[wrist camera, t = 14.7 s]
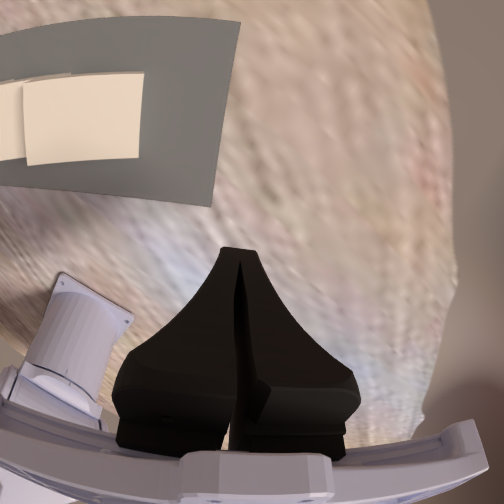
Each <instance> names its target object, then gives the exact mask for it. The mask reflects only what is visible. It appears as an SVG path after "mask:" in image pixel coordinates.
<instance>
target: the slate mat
mask: <svg viewBox="0 0 504 504" xmlns="http://www.w3.org/2000/svg"><path fill="white" fill-rule="evenodd" d="M240 24H241V22H235V21H227V20H218V19H208V18H195V17H176V16H128V17H109V18H97V19H87V20H78V21H70V22H63V23H57V24H51V25H45V26H40V27H35V28H30V29H25V30H21V31H17V32H13V33H9V34H5V35H1V36H0V82H1V81H6V80H11V79H14V80H19V79H25V78H31V77H38V76H45V75H52V74H61V73H70V72H71V75H73V74H85V73H100V72H127V71H144V80H143V91H142V103H141V117H140V133H139V157H138V158H121V159H101V160H85V161H72V162H60V163H50V164H40V165H31V166H27V157H24V158H17V159H10V160H3V161H0V185H1V186H16V187H29V188H41V189H53V190H64V191H74V192H85V193H95V194H104V195H114V196H123V197H132V198H140V199H149V200H157V201H165V202H173V203H181V204H189V205H197V206H204V207H211V203H212V196H213V188H214V181H215V174H216V166H217V159H218V153H219V146H220V139H221V133H222V126H223V120H224V114H225V107H226V101H227V95H228V89H229V84H230V78H231V72H232V67H233V61H234V56H235V50H236V45H237V40H238V34H239V29H240Z"/></svg>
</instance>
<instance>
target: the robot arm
mask: <svg viewBox="0 0 504 504" xmlns="http://www.w3.org/2000/svg"><path fill="white" fill-rule="evenodd" d="M133 321H134V315H133V314H132V313H130V312H128V311H126V310H124V309H123V308H121V307H119V306H117V305H116V304H114V303H112V302H110V301H109V300H107V299H105V298H104V297H102V296H100V295H99V294H97V293H95V292H94V291H92V290H90V289H89V288H87V287H85V286H84V285H82V284H81V283H79V282H77V281H76V280H74V279H73V278H71V277H70V276H68V275H66V274H64V273H61V274H60V276H59V277H58V280H57V282H56V285H55V287H54V290H53V293H52V295H51V298H50V301H49V303H48V306H47V309H46V312H45V315H44V317H43V320H42V323H41V325H40V327H39V329H38V331H37V333H36V335H35V337H34V339H33V341H32V343H31V345H30V347H29V349H28V351H27V353H26V356H25V358H24V360H23V363H22V365H21V366H20V367H19V369H18V368H16V367H15V366H14V365H11V366H10V367H9V366H8V367H5V368H3V370H2V372H1V374H0V504H67V503H72V502H76V501H81V502H84V503H88V504H410V503H413V502H416V501H419V500H422V499H425V498H428V497H431V496H434V495H437V494H440V493H442V492H445V491H448V490H451V489H453V488H455V487H457V486H458V485H461V484H463V483H464V482H466V481H468V480H470V479H472V478H474V477H476V476H477V475H479V474H481V473H483V472H485V471H486V470H488V468H489V466H488V462H487V459H486V456H485V453H484V450H483V446H482V443H481V440H480V437H479V434H478V431H477V428H476V425H475V422H474V420H473V419H469V420H466V421H462V422H458V423H455V424H452V425H450V426H448V427H447V428H446V429H444V430H443V431H442V432H441V433H440V434H437V435H432V436H428V437H423V438H418V439H413V440H407V441H402V442H396V443H390V444H383V445H376V446H368V447H360V448H350V449H345V445H344V439H343V435H344V434H346V427H345V421H346V420H347V419H348V418H349V417H350V416H351V415H352V414H353V413H354V412H355V411H356V410H357V408H358V407H359V405H360V403H361V397H360V392H359V388H358V385H357V382H356V379H355V377H354V374H353V371H352V370H350V369H349V368H347V367H346V366H345V365H343V364H342V363H341V362H339V361H338V360H336V359H335V358H334V357H332V356H331V355H330V354H329V353H328V352H327V351H325V350H324V349H323V348H322V347H321V346H320V345H319V344H318V343H316V342H315V341H314V340H313V339H312V338H311V336H310V335H309V334H308V333H307V332H306V331H305V330H304V329H303V328H302V327H301V326H300V325H299V324H298V322H297V321H296V320H295V319H294V317H293V316H292V315H291V314H290V312H289V311H288V309H287V308H286V307H285V305H284V304H283V302H282V301H281V299H280V297H279V296H278V294H277V293H276V291H275V289H274V287H273V286H272V284H271V282H270V280H269V278H268V276H267V274H266V272H265V270H264V268H263V266H262V264H261V261H260V259H259V256H258V254H257V252H256V251H255V250H247V249H239V248H231V247H222V248H221V249H220V253H219V256H218V258H217V261H216V263H215V265H214V266H213V268H212V270H211V272H210V273H209V275H208V277H207V278H206V280H205V281H204V283H203V284H202V286H201V287H200V288H199V290H198V291H197V293H196V294H195V295H194V296H193V298H192V299H191V300H190V301H189V302H188V304H187V305H186V306H185V307H184V308H183V309H182V310H181V311H180V312H179V313H178V314H177V315H176V316H175V317H174V318H173V319H172V320H171V321H170V322H169V323H168V324H167V325H166V326H164V327H163V328H162V329H161V330H160V331H158V332H157V333H156V334H155V335H153V336H152V337H151V338H150V339H148V340H147V341H145V342H144V343H142V344H141V345H139V346H138V347H136V348H135V349H133V350H132V351H130V352H129V354H128V355H127V357H126V359H125V360H124V362H123V364H122V366H121V368H120V370H119V372H118V375H117V377H116V380H115V384H114V387H113V391H112V401H113V403H114V406H115V408H116V411H117V413H118V415H119V417H120V420H119V425H118V430H117V434H114V433H110V432H109V431H108V427H107V424H106V422H105V421H104V419H102V418H100V414H101V410H102V407H101V406H99V405H98V404H96V402H97V399H98V395H99V392H100V388H101V385H102V381H103V378H104V375H105V371H106V368H107V365H108V362H109V358H110V355H111V352H112V349H113V346H114V344H115V343H116V342H117V341H118V339H119V338H120V337H121V336H122V334H123V333H124V332H125V331H126V330H127V328H128V327H129V326H130V325H131V323H132V322H133ZM229 423H230V431H229V445H228V450H221V447H222V443H223V440H224V436H225V435H226V433H227V430H228V427H229Z"/></svg>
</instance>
